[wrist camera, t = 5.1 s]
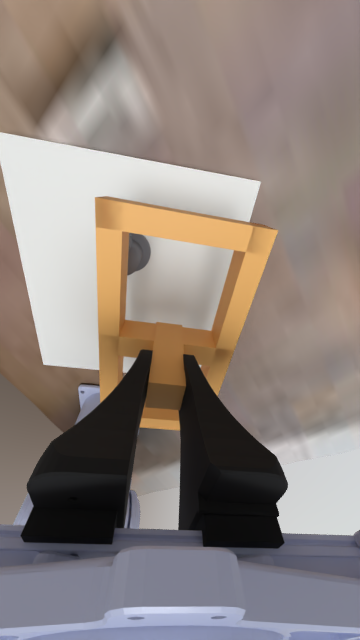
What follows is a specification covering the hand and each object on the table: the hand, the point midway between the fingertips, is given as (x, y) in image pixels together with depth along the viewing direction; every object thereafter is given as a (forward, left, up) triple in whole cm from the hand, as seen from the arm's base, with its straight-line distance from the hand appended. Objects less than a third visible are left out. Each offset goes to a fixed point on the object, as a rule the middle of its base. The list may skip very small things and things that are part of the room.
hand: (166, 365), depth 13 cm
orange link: (0, 0, -3) cm, 3 cm away
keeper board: (0, +4, -10) cm, 11 cm away
